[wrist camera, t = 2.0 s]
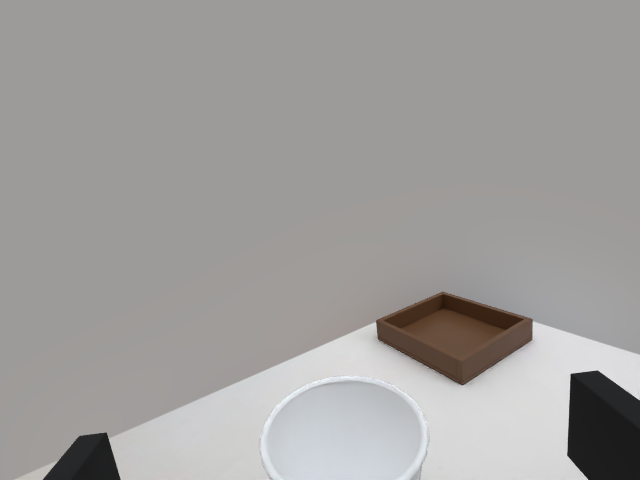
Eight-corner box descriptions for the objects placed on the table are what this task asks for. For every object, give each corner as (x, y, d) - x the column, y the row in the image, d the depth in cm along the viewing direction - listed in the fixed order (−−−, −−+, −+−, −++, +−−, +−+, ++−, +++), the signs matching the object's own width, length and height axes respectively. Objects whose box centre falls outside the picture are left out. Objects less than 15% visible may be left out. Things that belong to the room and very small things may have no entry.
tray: (532, 339, 47) (532, 318, 46) (462, 385, 39) (461, 361, 39) (443, 308, 59) (442, 291, 58) (377, 338, 52) (376, 320, 51)
